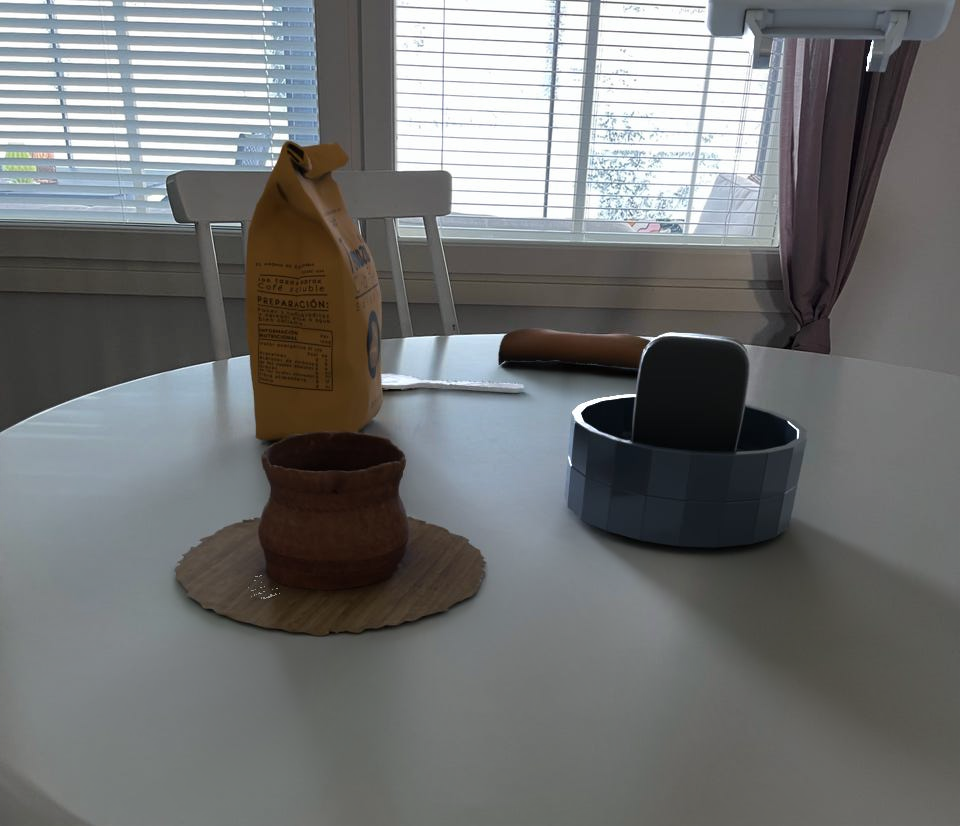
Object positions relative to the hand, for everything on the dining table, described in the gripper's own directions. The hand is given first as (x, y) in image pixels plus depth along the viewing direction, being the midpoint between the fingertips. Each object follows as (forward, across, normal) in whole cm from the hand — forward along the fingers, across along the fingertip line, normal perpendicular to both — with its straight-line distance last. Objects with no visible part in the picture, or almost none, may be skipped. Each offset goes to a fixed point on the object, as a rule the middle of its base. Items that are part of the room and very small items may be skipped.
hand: (818, 63), depth 78 cm
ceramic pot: (+56, -25, -14) cm, 62 cm away
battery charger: (+44, -6, -3) cm, 44 cm away
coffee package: (+36, -37, +5) cm, 52 cm away
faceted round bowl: (+44, -6, -2) cm, 44 cm away
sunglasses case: (+11, -20, +31) cm, 38 cm away
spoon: (+22, -32, +19) cm, 44 cm away
